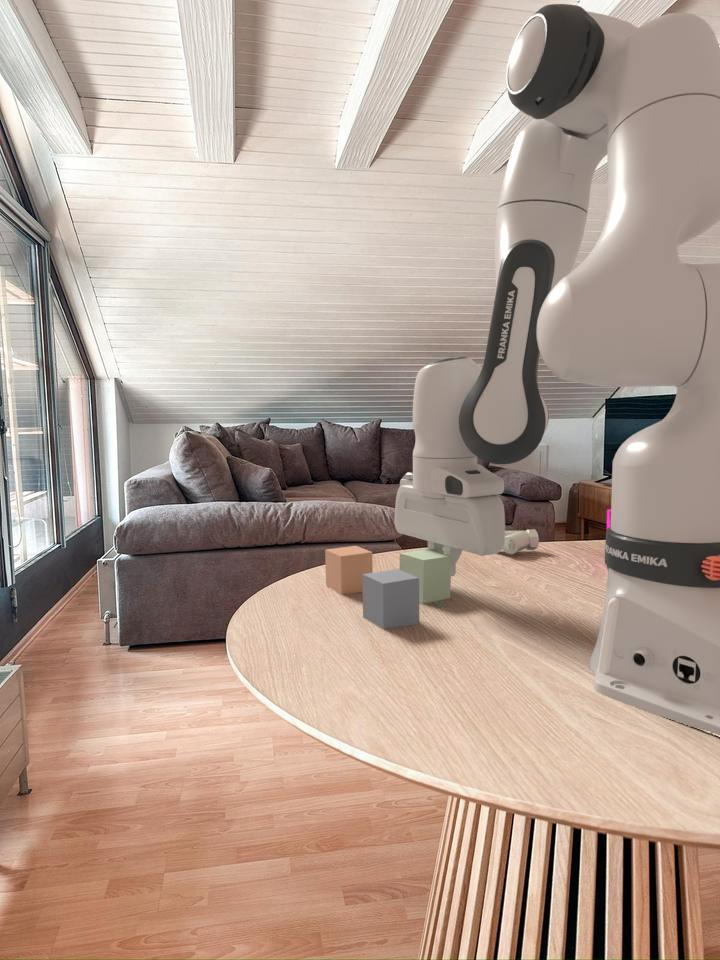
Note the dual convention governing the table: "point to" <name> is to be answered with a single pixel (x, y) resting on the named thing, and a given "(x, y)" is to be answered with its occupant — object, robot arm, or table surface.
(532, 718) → the table surface
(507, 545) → the pipe fitting
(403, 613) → the slate block
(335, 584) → the terracotta block
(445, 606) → the small gray-green block
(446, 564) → the sage block
